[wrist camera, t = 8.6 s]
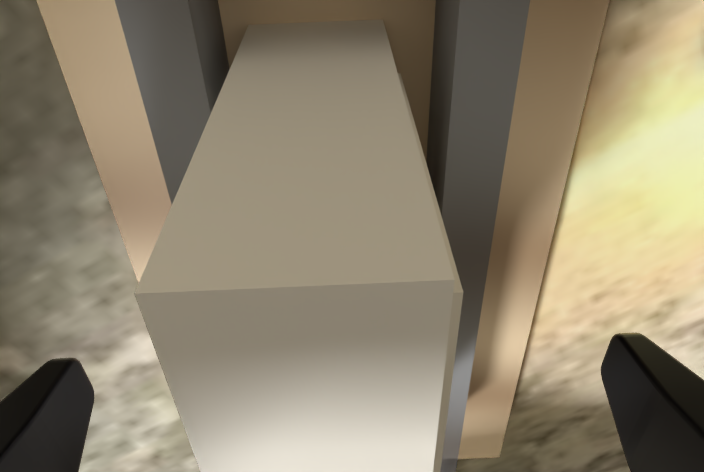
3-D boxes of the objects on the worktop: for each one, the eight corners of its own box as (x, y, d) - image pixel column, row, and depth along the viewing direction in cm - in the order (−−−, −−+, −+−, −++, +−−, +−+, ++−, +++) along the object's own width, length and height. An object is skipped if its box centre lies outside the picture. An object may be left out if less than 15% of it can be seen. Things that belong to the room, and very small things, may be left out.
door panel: (390, 354, 15) (425, 663, 9) (295, 358, 15) (274, 670, 9) (396, 18, 10) (487, 278, 4) (248, 25, 10) (134, 293, 4)
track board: (494, 441, 19) (515, 516, 17) (209, 454, 19) (194, 532, 17) (697, -452, 7) (854, -574, 5) (-92, -424, 7) (-277, -535, 5)
